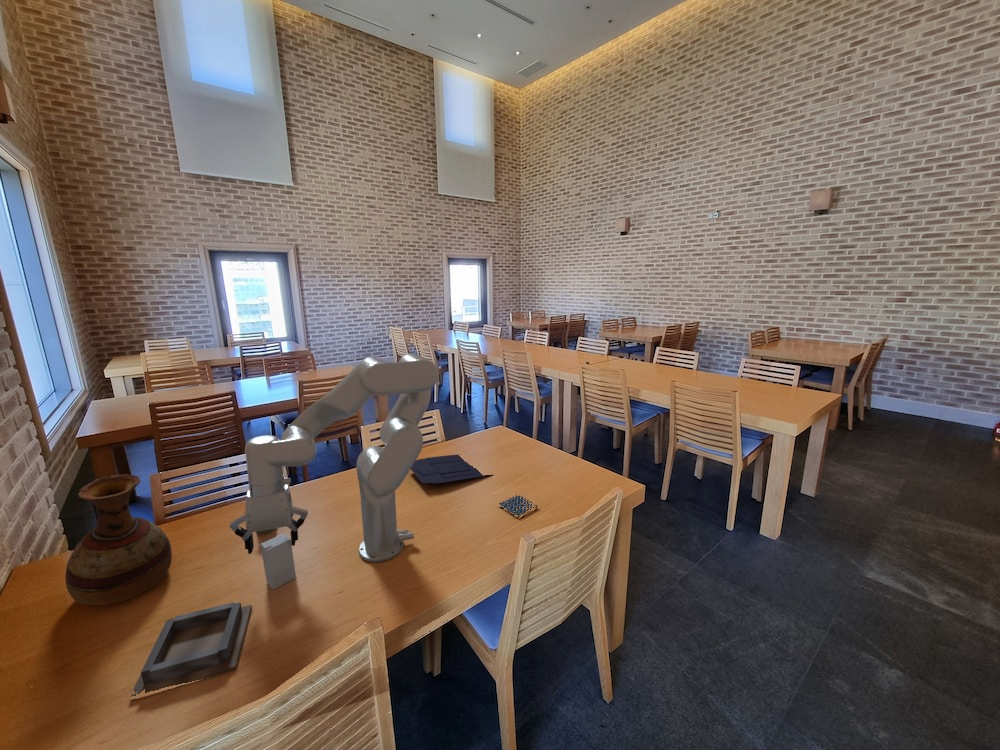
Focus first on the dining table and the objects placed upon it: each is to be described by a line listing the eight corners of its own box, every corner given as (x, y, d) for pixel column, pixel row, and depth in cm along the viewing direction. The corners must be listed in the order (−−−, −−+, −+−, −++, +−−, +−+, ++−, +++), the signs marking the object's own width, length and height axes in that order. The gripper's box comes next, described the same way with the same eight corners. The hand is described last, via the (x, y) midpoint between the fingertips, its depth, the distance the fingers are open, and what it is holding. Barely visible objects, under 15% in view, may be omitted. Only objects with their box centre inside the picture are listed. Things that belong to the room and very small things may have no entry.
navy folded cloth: (402, 467, 168) (403, 458, 167) (465, 459, 184) (466, 451, 183) (424, 492, 147) (424, 483, 147) (493, 481, 164) (493, 473, 163)
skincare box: (289, 570, 109) (284, 531, 106) (297, 578, 106) (291, 538, 103) (265, 583, 104) (259, 542, 102) (272, 591, 101) (266, 550, 99)
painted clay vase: (86, 629, 90) (53, 511, 83) (61, 593, 100) (30, 485, 94) (188, 577, 106) (168, 474, 99) (157, 550, 117) (137, 455, 110)
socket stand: (251, 608, 96) (249, 594, 95) (235, 670, 81) (233, 654, 80) (165, 629, 90) (161, 615, 89) (130, 701, 75) (125, 684, 74)
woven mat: (518, 521, 133) (518, 516, 132) (497, 508, 140) (497, 503, 140) (539, 510, 140) (539, 505, 139) (518, 498, 147) (518, 493, 147)
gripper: (306, 474, 105) (310, 531, 109) (229, 483, 99) (236, 544, 102) (304, 487, 99) (309, 548, 102) (221, 498, 92) (229, 563, 96)
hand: (272, 546), depth 102 cm, fingers open, 9 cm apart
